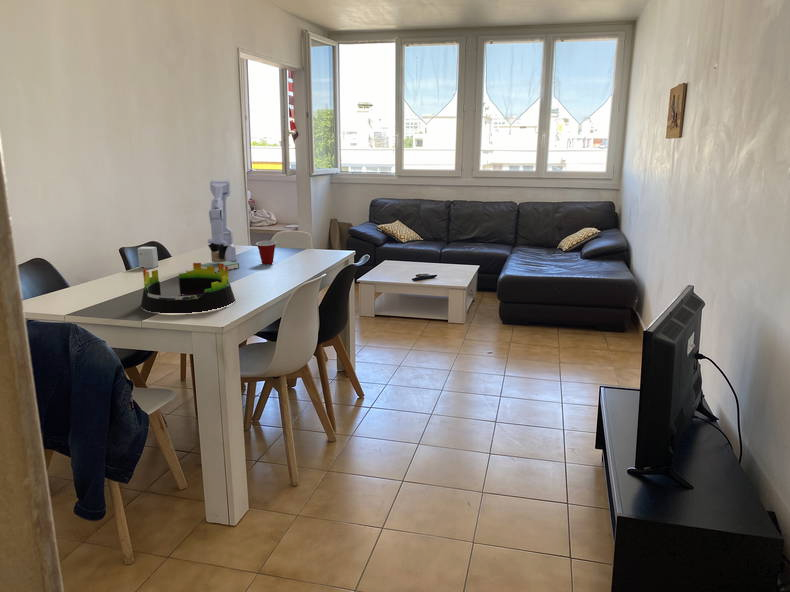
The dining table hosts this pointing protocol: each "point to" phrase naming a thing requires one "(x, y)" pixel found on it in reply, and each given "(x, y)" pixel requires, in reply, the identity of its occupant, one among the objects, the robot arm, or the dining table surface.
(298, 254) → the dining table surface
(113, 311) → the dining table surface
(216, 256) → the walnut block
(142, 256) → the small box
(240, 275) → the dining table surface
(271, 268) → the dining table surface
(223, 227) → the robot arm
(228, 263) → the book
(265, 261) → the plastic cup
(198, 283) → the decorative container
